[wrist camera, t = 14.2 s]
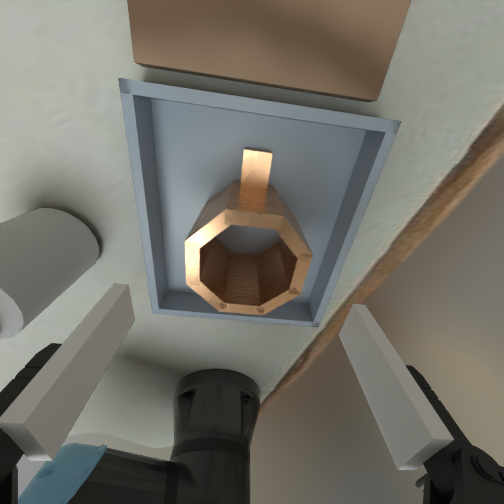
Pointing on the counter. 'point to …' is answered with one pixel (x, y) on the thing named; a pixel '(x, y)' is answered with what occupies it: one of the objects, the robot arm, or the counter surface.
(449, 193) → the counter surface
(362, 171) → the tray
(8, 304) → the can
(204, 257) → the mug
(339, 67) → the stake stand
